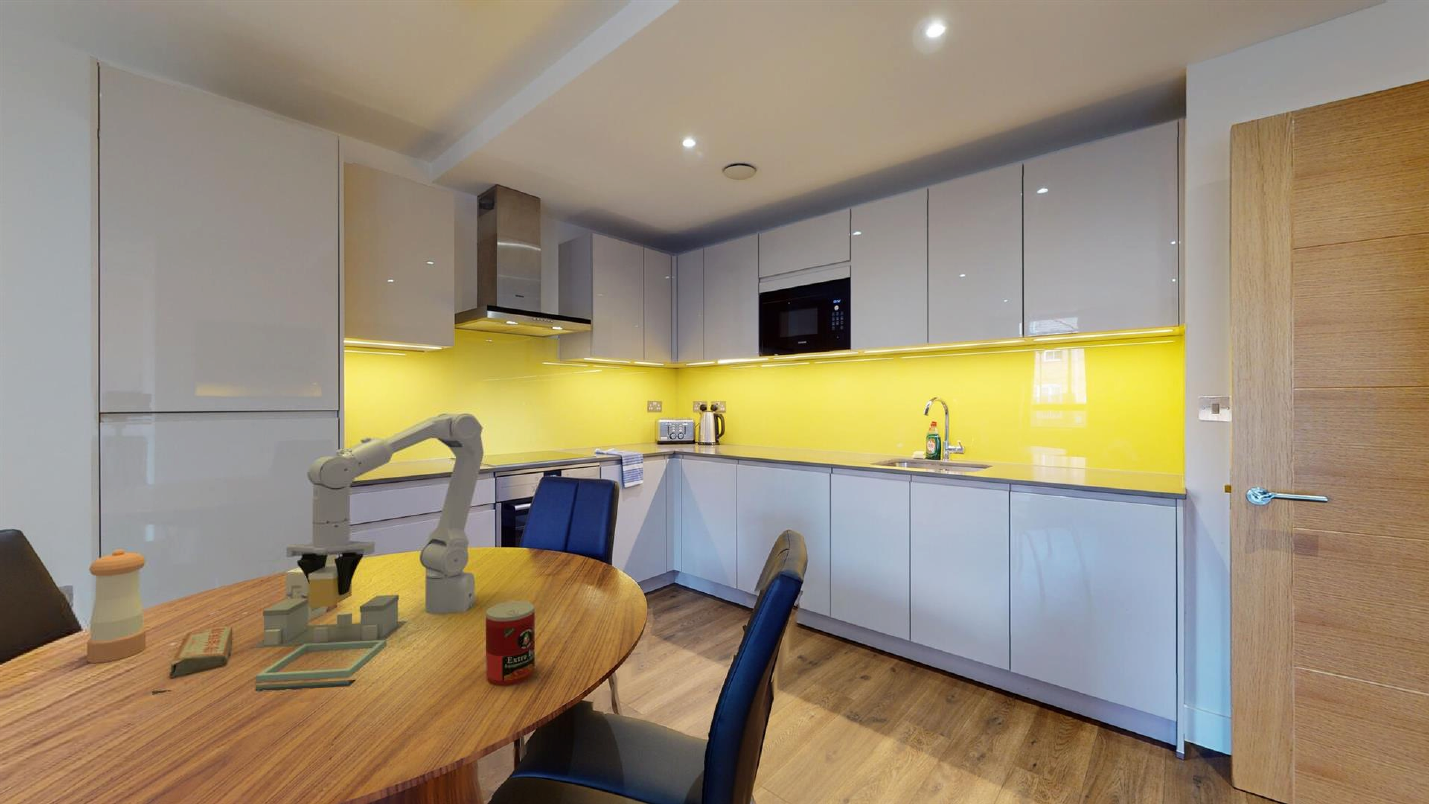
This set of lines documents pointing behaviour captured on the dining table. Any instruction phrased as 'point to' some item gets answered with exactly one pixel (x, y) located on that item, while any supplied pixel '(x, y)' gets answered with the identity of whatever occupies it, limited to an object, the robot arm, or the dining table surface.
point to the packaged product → (201, 651)
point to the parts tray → (273, 675)
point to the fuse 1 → (287, 618)
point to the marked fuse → (325, 588)
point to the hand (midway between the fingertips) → (330, 593)
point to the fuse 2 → (380, 613)
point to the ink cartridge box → (305, 588)
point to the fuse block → (327, 633)
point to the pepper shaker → (116, 608)
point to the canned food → (510, 642)
